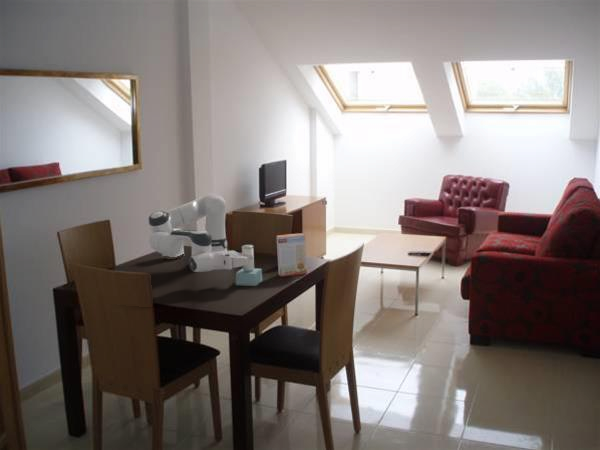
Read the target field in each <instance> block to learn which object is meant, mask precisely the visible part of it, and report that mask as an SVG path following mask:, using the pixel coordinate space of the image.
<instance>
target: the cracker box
mask: <svg viewBox="0 0 600 450" xmlns="http://www.w3.org/2000/svg"><path fill="white" fill-rule="evenodd" d="M305 236H306V235H305V234H304V233H303V232H301V233H299V232H298V233H289V234H280V235H279V234H278V235H276V250H277V253H276V254H277V266H278V267H277V268H278V276H279V277H281V278H282V277H290V276H291V277H292V276H300V275H302V276H303V275H307V272H308V271H307V254H306V253H307V252H306V237H305Z"/></svg>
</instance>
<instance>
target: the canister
mask: <svg viewBox="0 0 600 450" xmlns="http://www.w3.org/2000/svg"><path fill="white" fill-rule="evenodd" d="M241 253H242V255H243V256H245V257H247V256H253V259H252V260H249V261H248V264H247V265H245V266H242V268H243V270H246V271H249V270H254V269H255V259H254V258H255V256H254V255H255V254H254V253H255V252H254V245H253V244H244V245H242V246H241Z"/></svg>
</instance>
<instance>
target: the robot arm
mask: <svg viewBox="0 0 600 450" xmlns="http://www.w3.org/2000/svg"><path fill="white" fill-rule="evenodd" d="M226 203H227V202H226V201H225V199H224V198H223V197H222V196H220V195H219V194H217V193H214V192H210V193H207V194H205V195H204V194H203V195H202V196H199V197H198V198H196V199H194V200H192V201H191V200H190V201H189V202H187V203H184V204H181V205H178V206H175V207H173V208H171V209H168V210H167V211H164V210H163V211H162V210H158V211H157V210H156V211H154V212H151V214H150V215H149V217H148V224H149V228H150V231H151V235H150V236H149V238H148V244H149V247H150V248H151V249H153V250H154V251H156V252H157V253H160V254H164V255H167V256H174V255H176V254H178V253H179V252H180V250H181V249H182V247H184V241H185V240H189V241H190V244H191V256H190V257H189V258H188V266H189V268H190V270H191V272H195V273H196V272H197V273H201V272H210V271H213V270H214V271H215V270H217V271H218V270H232V269H233V268H239V267H243V266H245V265H247V264H248V261H249V260H252V259H253V256H247V257H245V256H243V255H242V252H238V251H236V250H228V239H227V238H228V237H227V235H226V217H227V214H226V213H227V204H226ZM204 217H205V223H204V227H205V230H191V229H190V230H189V229H182V230H175V231H174V230H173V229H179V228H181V227H184V226H187V225H190V224H193V223H195V222H198V221H199V220H200V219H203V218H204Z"/></svg>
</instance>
